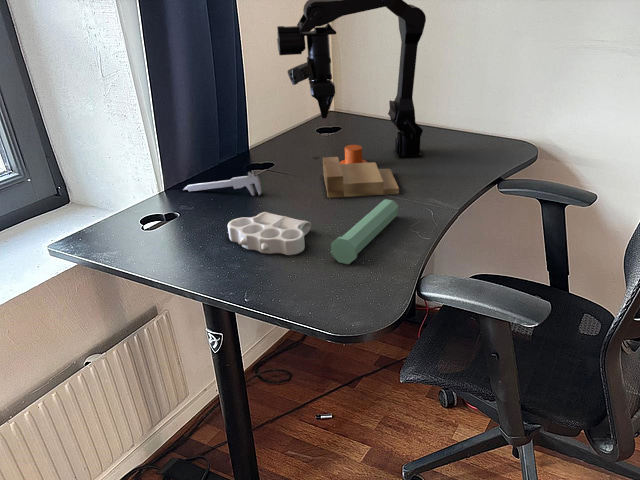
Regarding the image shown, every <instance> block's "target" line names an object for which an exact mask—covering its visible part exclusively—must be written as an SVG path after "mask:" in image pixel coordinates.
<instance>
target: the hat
mask: <svg viewBox="0 0 640 480" xmlns="http://www.w3.org/2000/svg"><path fill="white" fill-rule="evenodd" d="M339 163H340V164H351V163H369V162H368V161H367V160H365V159H363V147H362V146H361V145H359V144H348V145H346V146H344V159H342V160H341V161H339Z"/></svg>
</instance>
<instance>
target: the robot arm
mask: <svg viewBox="0 0 640 480" xmlns="http://www.w3.org/2000/svg"><path fill="white" fill-rule="evenodd" d="M382 8H386V9H388V10H389V11H390V12H391V13H393V15H395V16H396V17H397V19H398V31H399V35H400V42H401V44H400V54H399V68H398V78H397V89H396V90H397V91H396V96H395V98H394V100H389V111H388V113H387V115H388V116H389V119H390V122H391V123H392V124H393V125H394V126H395V128H397V130H398V131H397V134H396V135H397V136H396V137H395V145H394V148H395V150H394V151H395V153H396V154H397V156H398V157H399V158H420V157H421V158H422V154H421V136H422V134H423V132H424V129H423V128H422V127H421V126H420V125H419V124H418V123H417V122H416V109H415V105H414V99H413V98H414V97H413V96H414V85H415V76H416V67H417V66H416V65H417V56H418V45H419V42H420V40H421V38H422V37H423V34H424V29H425V27H426V26H425V25H426V21H427V16H426V14H425V11H424V10H423V9H421V8H420V7H418V6H415V5H413V4H409V3H407V2H406V1H405V0H306V1H305V3H304V6H303V8H302V11H303V13H302V16H301V17H300V19H299V21H298V22H297V24H296V25H293V26H284V25H278V26H277V27H276V29H277V38H276V42H277V51H278V54H279V56H292V55H293V56H294V55H302V54H303V52H305V51H306V48H307V56H306V62H304V63H301V64H299V65H296V66H293V67H291V68H289V69H288V70H287V75H288V77H289V80H290V82H291V83H292V85H293V86H295V85H298V84H299V83H300V82H303V81H306V80H308V84H309V88H310V89H309V90H310V95H311V97H312V98H314V99H315V100H316V101H317V104H318V107H319V111H320V115H321V119H327V118H328V114H329V112H330V108H331V106H332V103H333V100H334V97H335V95H336V85H335V83H334V82H333V81H332V80H333V74H332V66H331V65H332V64H331V63H332V58H331V47H330V46H331V45H330V35H337V31H336V30H335V29H334V28H333V27H332V25H331V24H330V23H333V22H334V21H336V20H337V19H339V18H342V17H344V16H348V15H353V14H358V13H362V12H363V13H364V12H368V11H372V10H377V9H382ZM306 46H307V47H306Z"/></svg>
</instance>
